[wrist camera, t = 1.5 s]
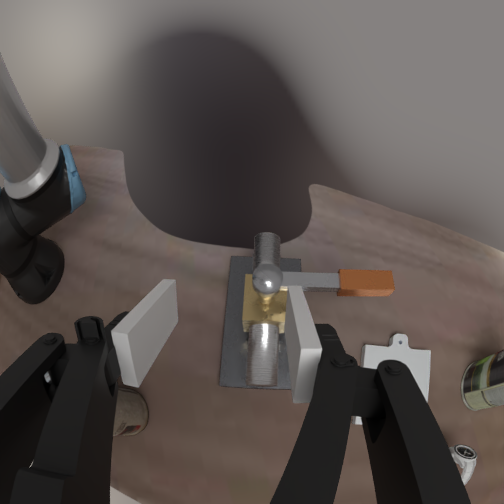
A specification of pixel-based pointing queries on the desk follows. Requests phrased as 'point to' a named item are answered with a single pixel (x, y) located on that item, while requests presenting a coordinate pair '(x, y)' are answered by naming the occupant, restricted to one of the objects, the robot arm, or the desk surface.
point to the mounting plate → (401, 352)
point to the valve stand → (256, 323)
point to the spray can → (127, 412)
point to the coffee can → (484, 383)
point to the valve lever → (323, 281)
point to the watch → (464, 460)
